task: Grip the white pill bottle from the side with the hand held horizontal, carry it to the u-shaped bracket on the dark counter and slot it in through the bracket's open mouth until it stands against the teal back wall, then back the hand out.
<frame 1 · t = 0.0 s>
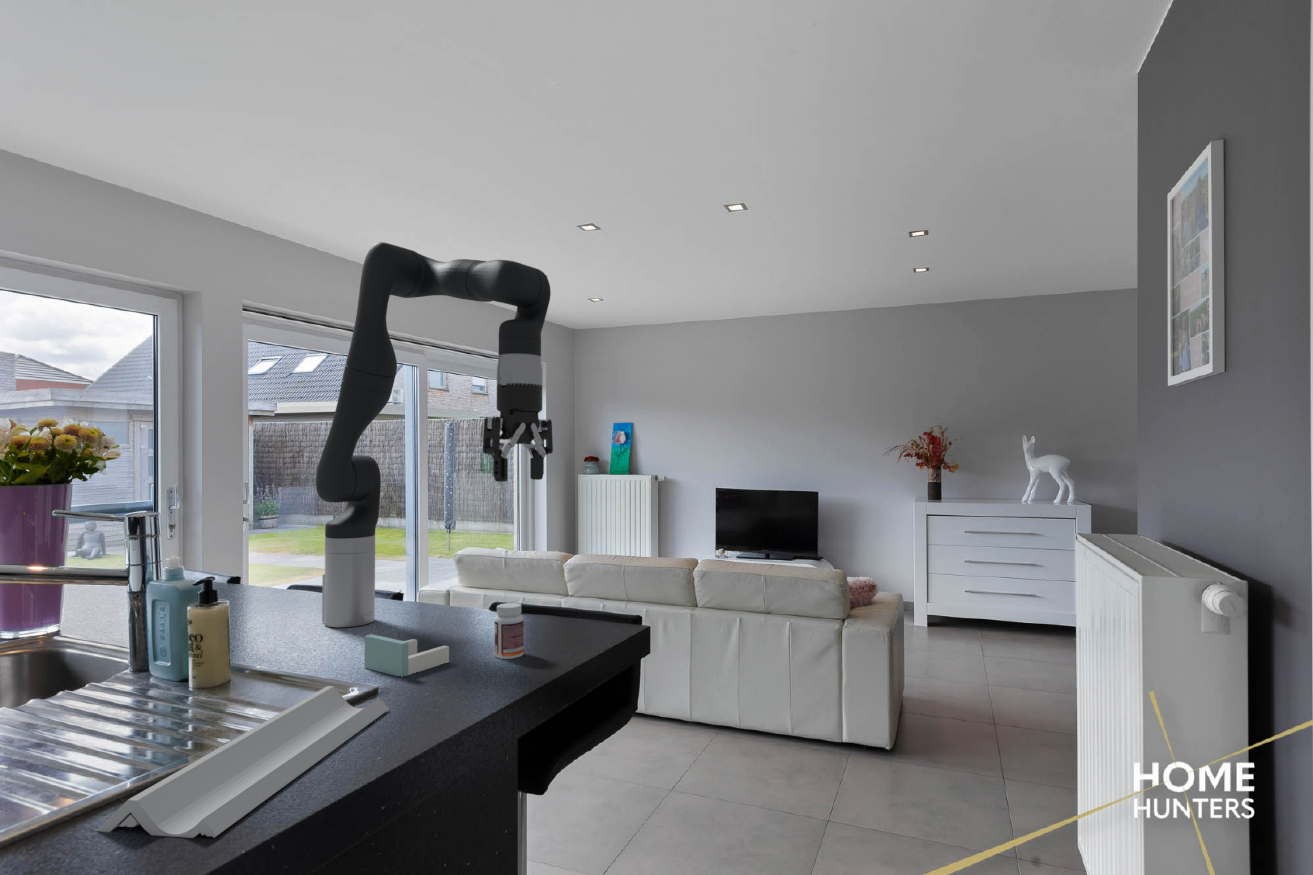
hand: (519, 480, 119), 29 cm above the counter, tool pointing down, fingers open, 8 cm apart
u-shaped bracket: (410, 663, 115), on the counter
crown molding: (268, 767, 79), on the counter
pill bottle: (509, 656, 120), on the counter
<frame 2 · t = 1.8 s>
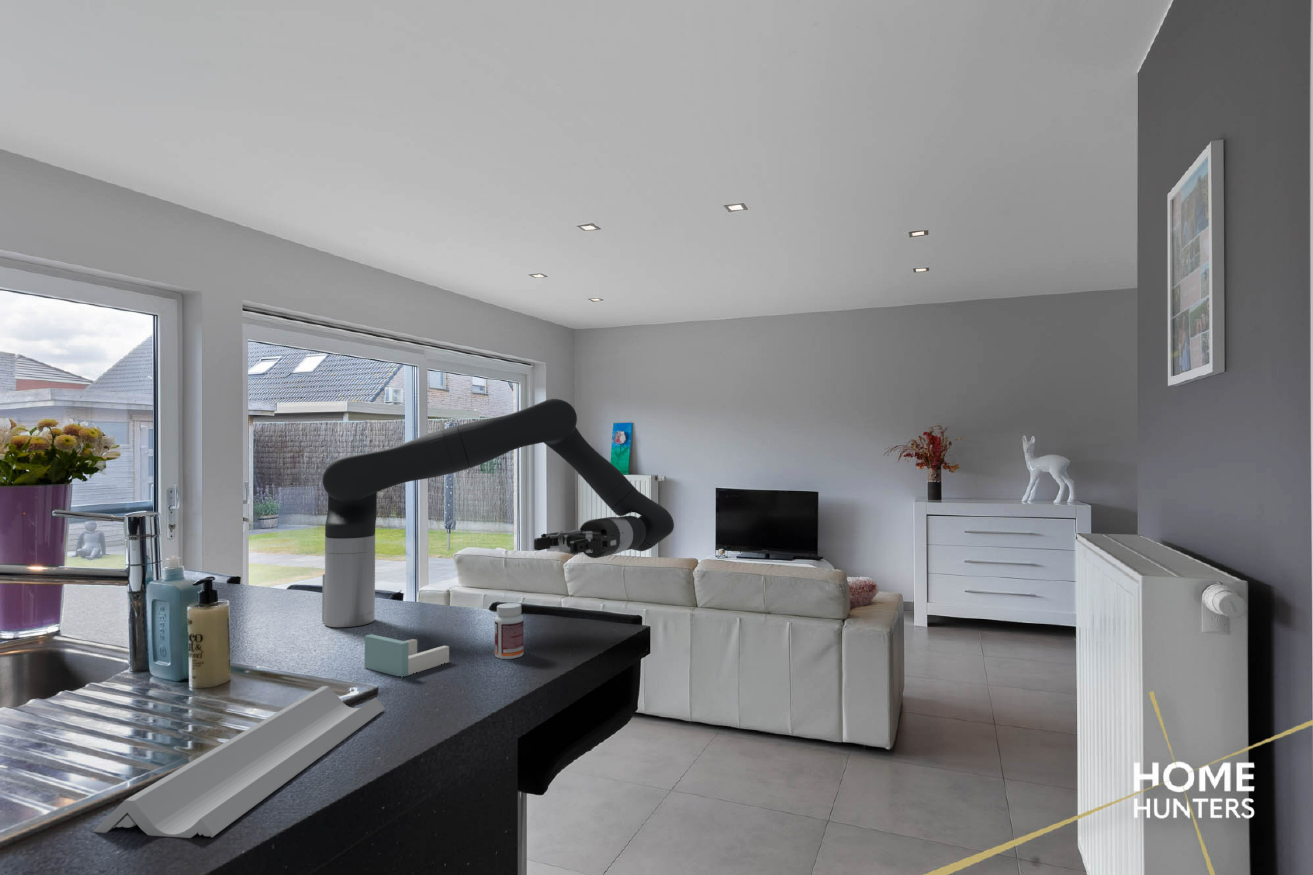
hand: (553, 546, 130), 17 cm above the counter, tool horizontal, fingers open, 8 cm apart
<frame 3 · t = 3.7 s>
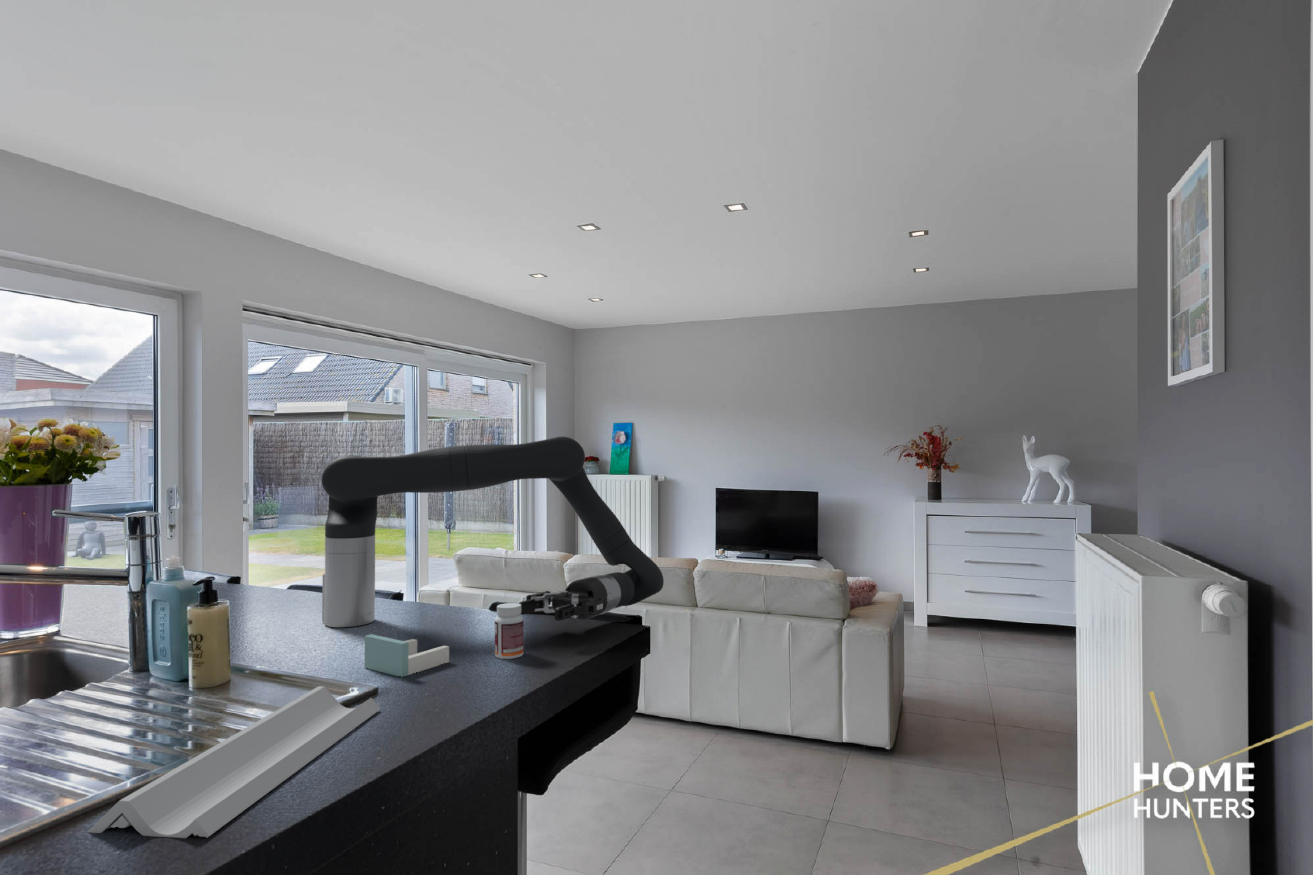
hand: (537, 611, 126), 6 cm above the counter, tool horizontal, fingers open, 8 cm apart
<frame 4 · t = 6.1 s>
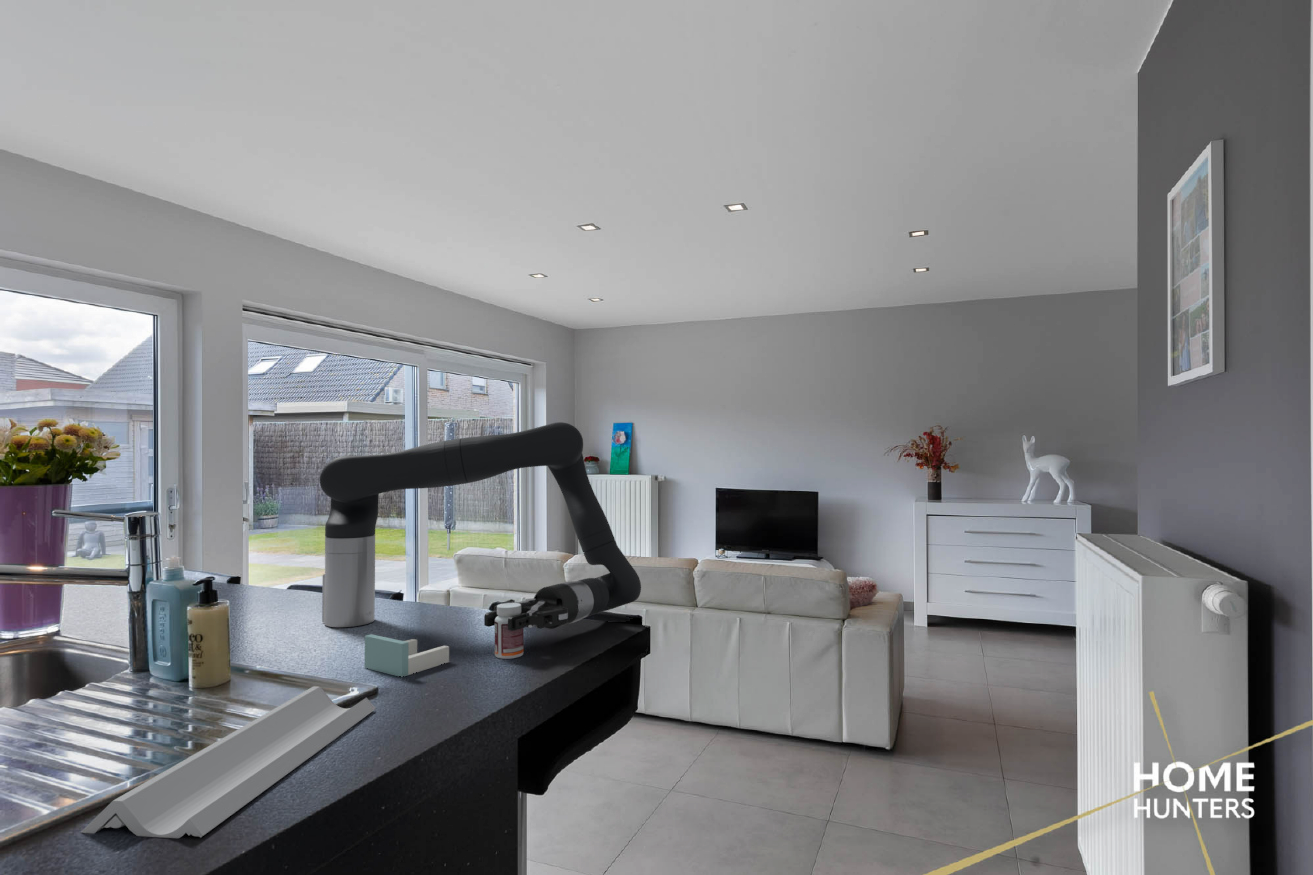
hand: (497, 622, 118), 6 cm above the counter, tool horizontal, fingers closed on pill bottle, 4 cm apart
pill bottle: (509, 656, 120), on the counter, touching gripper
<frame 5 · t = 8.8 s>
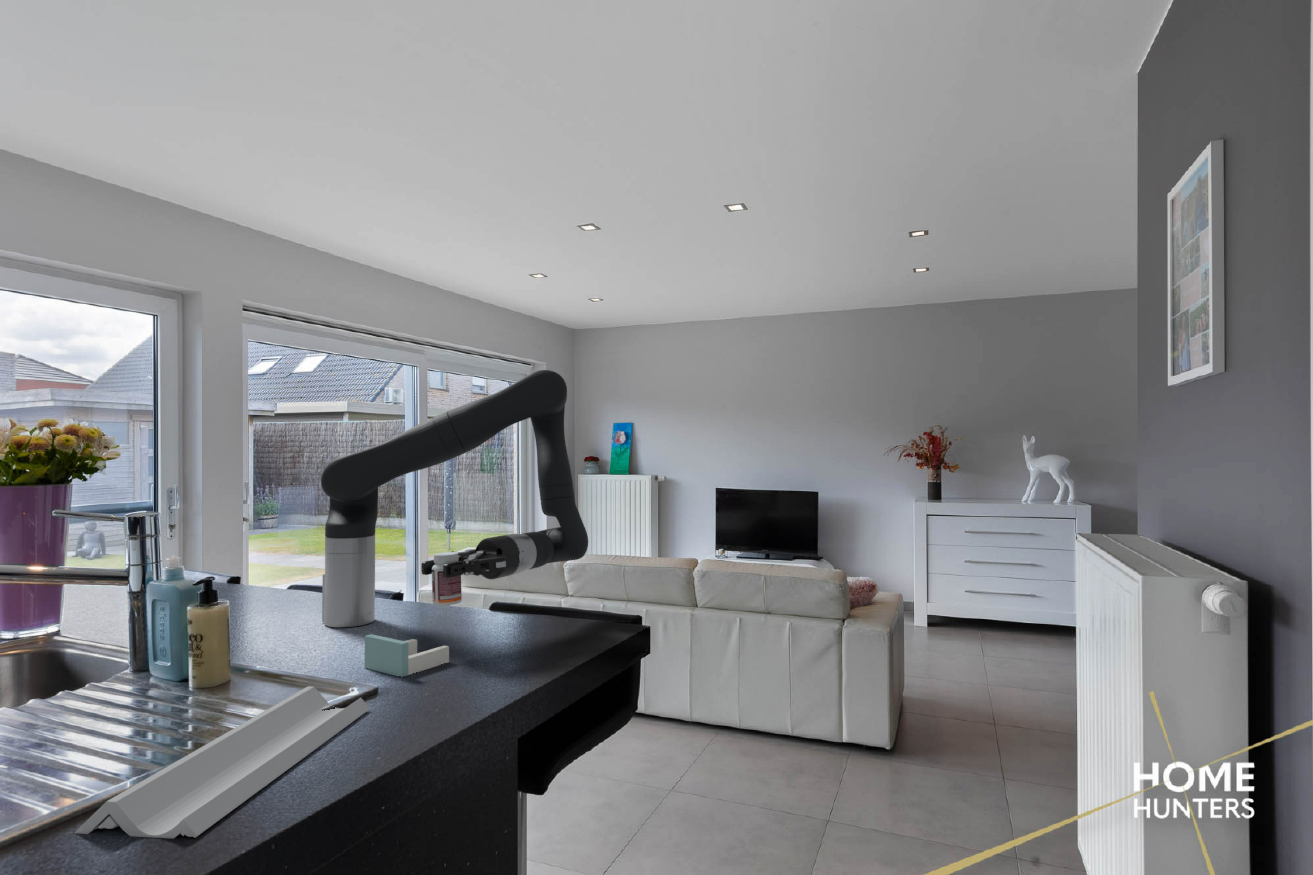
hand: (434, 569, 119), 14 cm above the counter, tool horizontal, fingers closed on pill bottle, 4 cm apart
pill bottle: (447, 604, 121), point 8 cm above the counter, touching gripper
when the fingers open (7 cm above the counter, at t = 11.8 s): pill bottle drops 1 cm, resting in u-shaped bracket.
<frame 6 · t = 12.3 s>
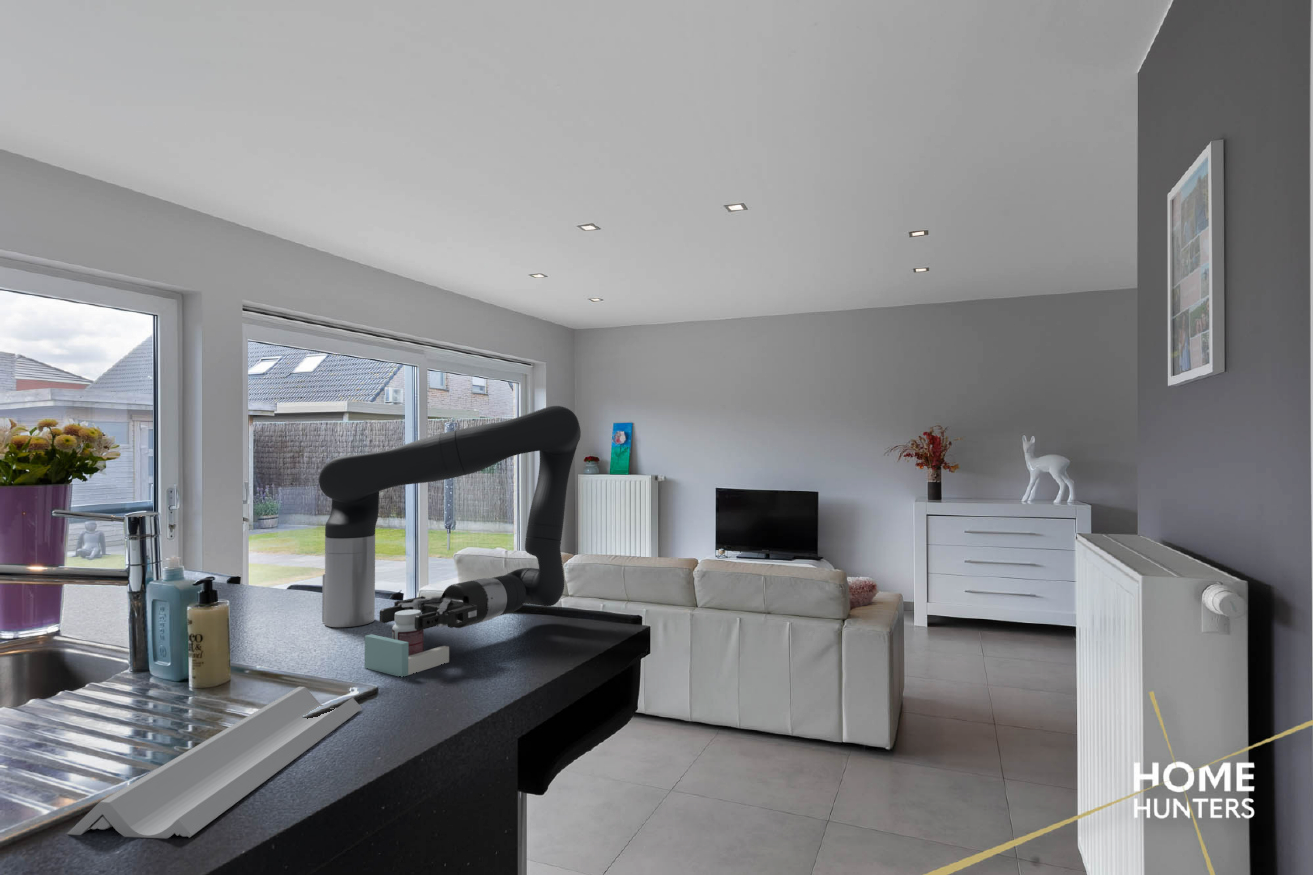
hand: (398, 619, 113), 8 cm above the counter, tool horizontal, fingers open, 8 cm apart
pill bottle: (407, 665, 115), resting in u-shaped bracket
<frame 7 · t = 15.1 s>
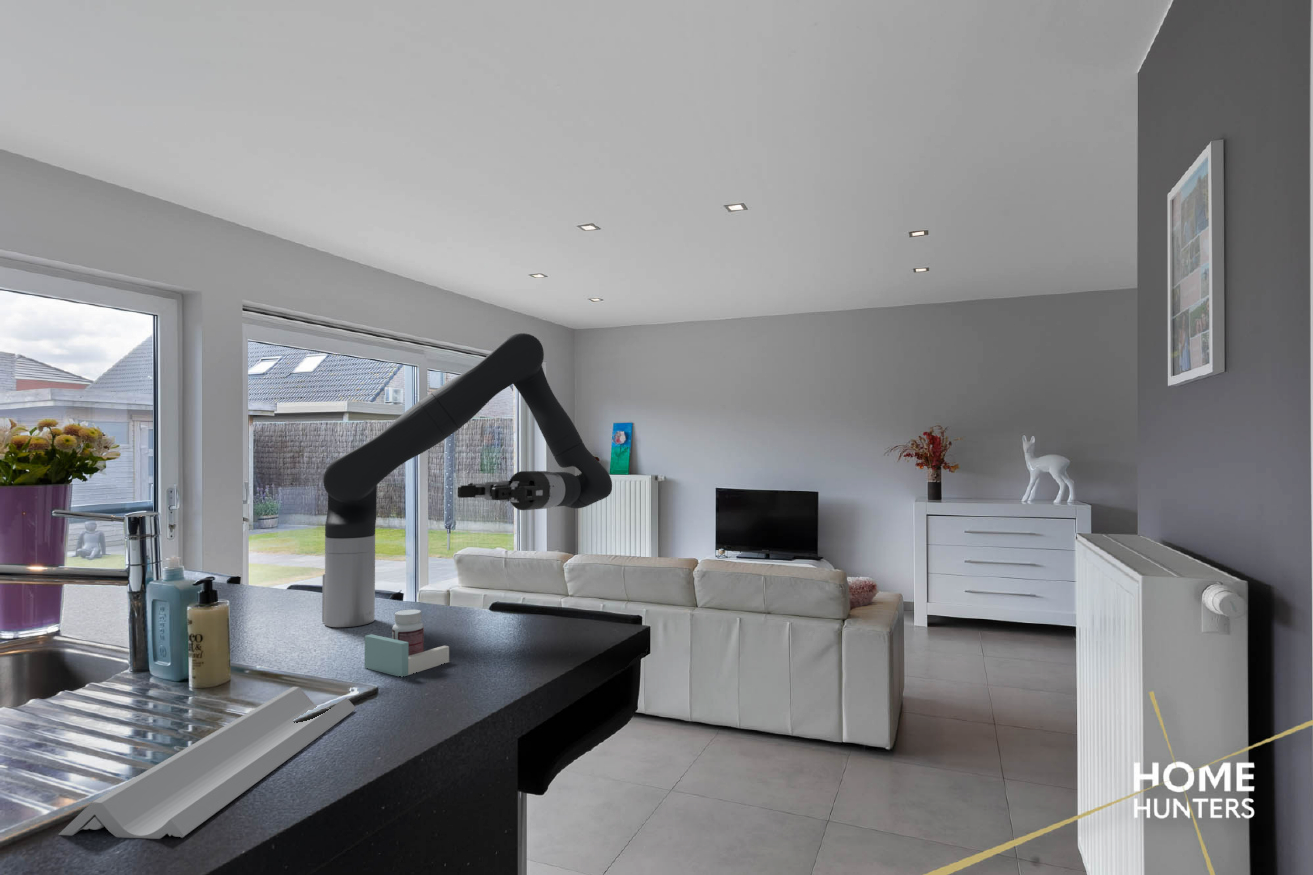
hand: (475, 492, 127), 27 cm above the counter, tool horizontal, fingers open, 8 cm apart
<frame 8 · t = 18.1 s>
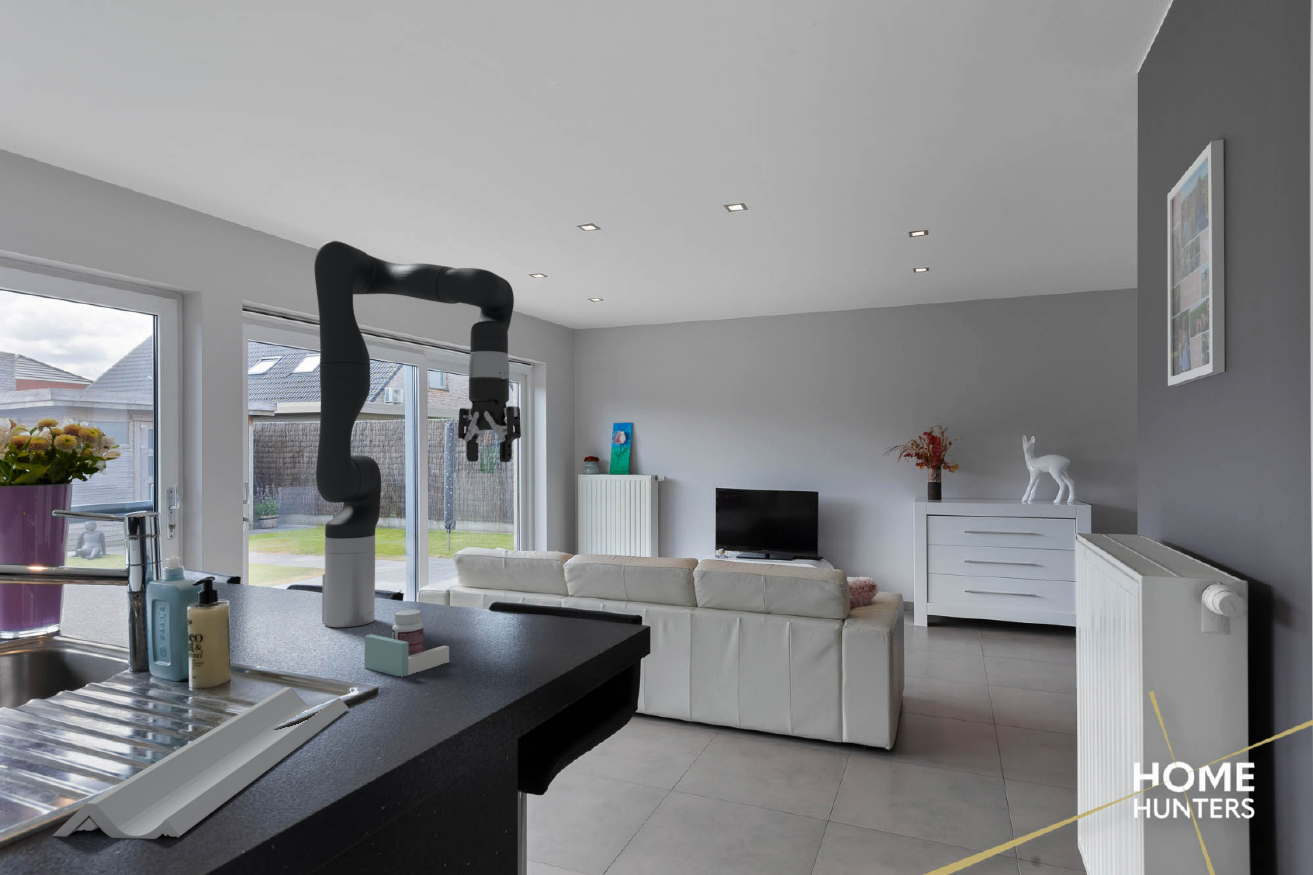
hand: (488, 461, 137), 32 cm above the counter, tool pointing down, fingers open, 8 cm apart
at the end: pill bottle 0.6 cm from the target spot on the u-shaped bracket, point 0.0 cm above the u-shaped bracket's base; pill bottle tilted 0°; the gripper is holding nothing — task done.
